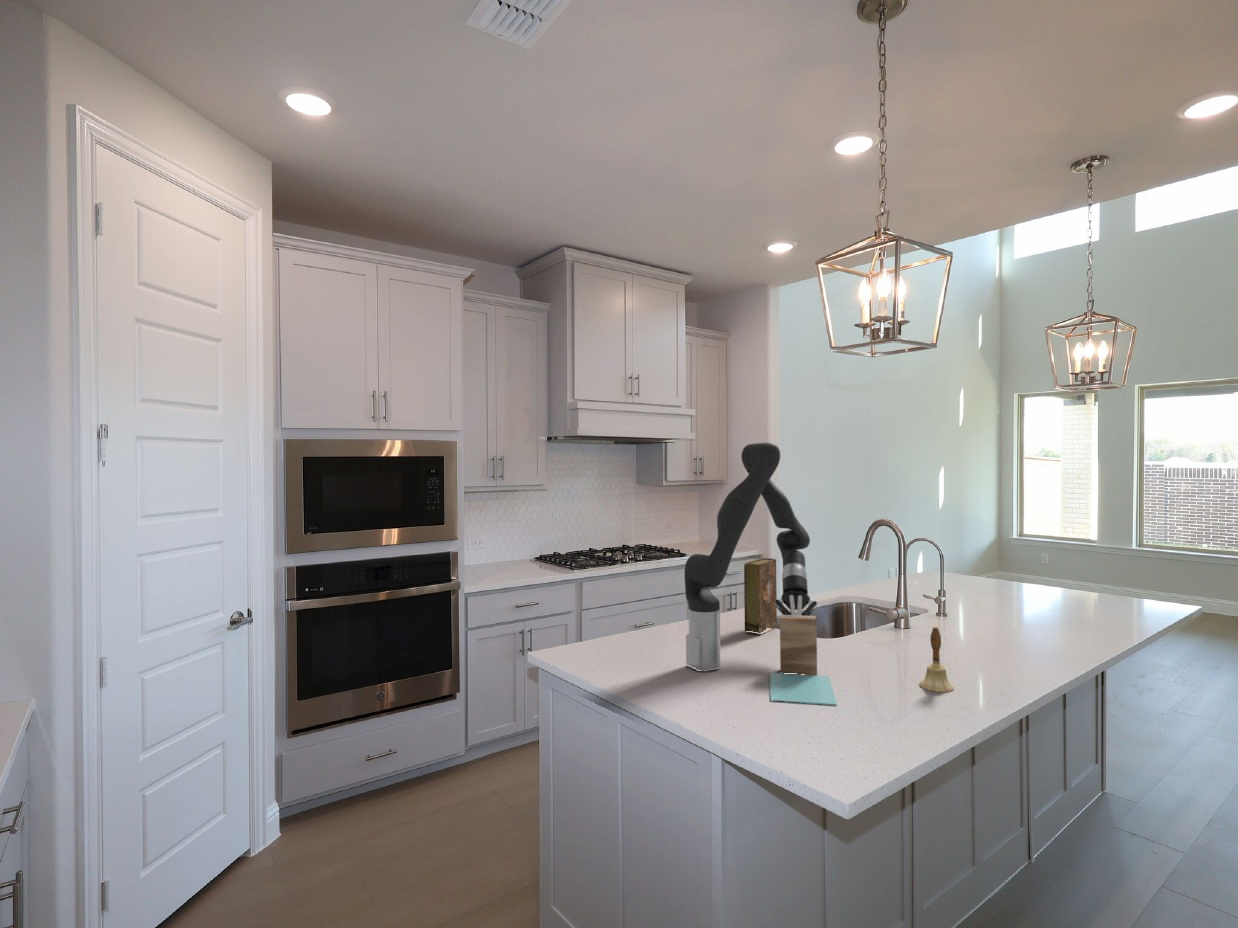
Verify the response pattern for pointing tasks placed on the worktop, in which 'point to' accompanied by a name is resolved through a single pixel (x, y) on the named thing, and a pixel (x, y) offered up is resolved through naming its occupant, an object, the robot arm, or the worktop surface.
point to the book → (760, 595)
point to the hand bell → (936, 668)
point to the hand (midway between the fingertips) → (796, 629)
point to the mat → (801, 689)
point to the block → (798, 644)
